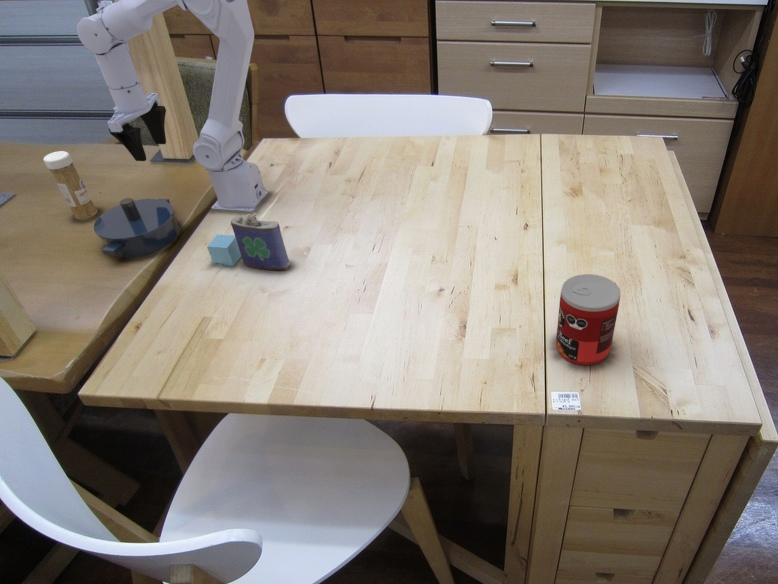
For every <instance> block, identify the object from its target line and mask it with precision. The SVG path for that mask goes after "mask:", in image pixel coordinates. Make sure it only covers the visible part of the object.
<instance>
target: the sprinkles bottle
mask: <svg viewBox="0 0 778 584" xmlns="http://www.w3.org/2000/svg"><path fill="white" fill-rule="evenodd" d="M43 162H44V164H45V166H46V168H47V169H48V170H49V171H50V173H51V175H52V176H53V179H54V180H55V183H56V185H57V187H58V188H59V190H60V192H61V194H62V196H63V198H64V200H65V202H66V203H67V205H68V207H69V208H70V210H71V211H72V213H73V216H74V219H77V220H85V219H89V218H92V217H93V216H95V215H96V214H97V213H98V209H97V208H96V206H95V205H94V202H93V200H92V198H91V195H90V193H89V191H88V190H87V188H86V185H85V184H84V182H83V180H82V178H81V177H80V175H79V173H78V171H77V169H76V167H75V165H74V162H73V159H72V157H71V154H70V153H69V152H68V151H64V150H58V151H53V152H50V153H48V154H46V155H45V156H44V157H43Z"/></svg>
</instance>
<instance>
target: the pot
mask: <svg viewBox="0 0 778 584" xmlns="http://www.w3.org/2000/svg"><path fill="white" fill-rule="evenodd" d="M157 199H160V200H164V201H167V202H169V203H170V204H171V201H170V199H169V198H159V197H158V198H157ZM179 234H180V226H179V225H178V222H177V220H176V217H175V214H174V215H173V217H172V219H171V220H170V221H169V223H167V224H166V225H165V226H164V227H162V228H161V229H159V230H157V231H155V232H153V233H151V234H148V235H146V236H143V237H139V238H135V239H130V240H123V241H112V240H106V239H103V238H101V240H102V243H103V244H104V246H105V247H104V248H102V249H101V252H102V253H103V255H104V256H115V257H118V258H125V259H131V258H138V257H139V258H140V257H144V256H149V255H151V254H154V253H155V252H159V251H161V250H163V249H164V248H166V247H168V246H169V245H171V244H172V243H173V242H174V241H175V240H176V239H177V238H178V237H179Z"/></svg>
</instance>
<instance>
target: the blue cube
mask: <svg viewBox="0 0 778 584" xmlns="http://www.w3.org/2000/svg"><path fill="white" fill-rule="evenodd" d="M206 248H207V251H208V254H209V255H210V259H211V261H212V263H213V264H214V263H215V264H221V266H229V267H234V266H235V265H236V263H237V262H238V261H239V260H240V258H242V256H241V253H240V250H239V247H238V243H237V240H236V237H235V235H232V234H216V235H215V236H214V237H213V239H212V240H211V241H210V242H209V243H208V244H207V245H206Z"/></svg>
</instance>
